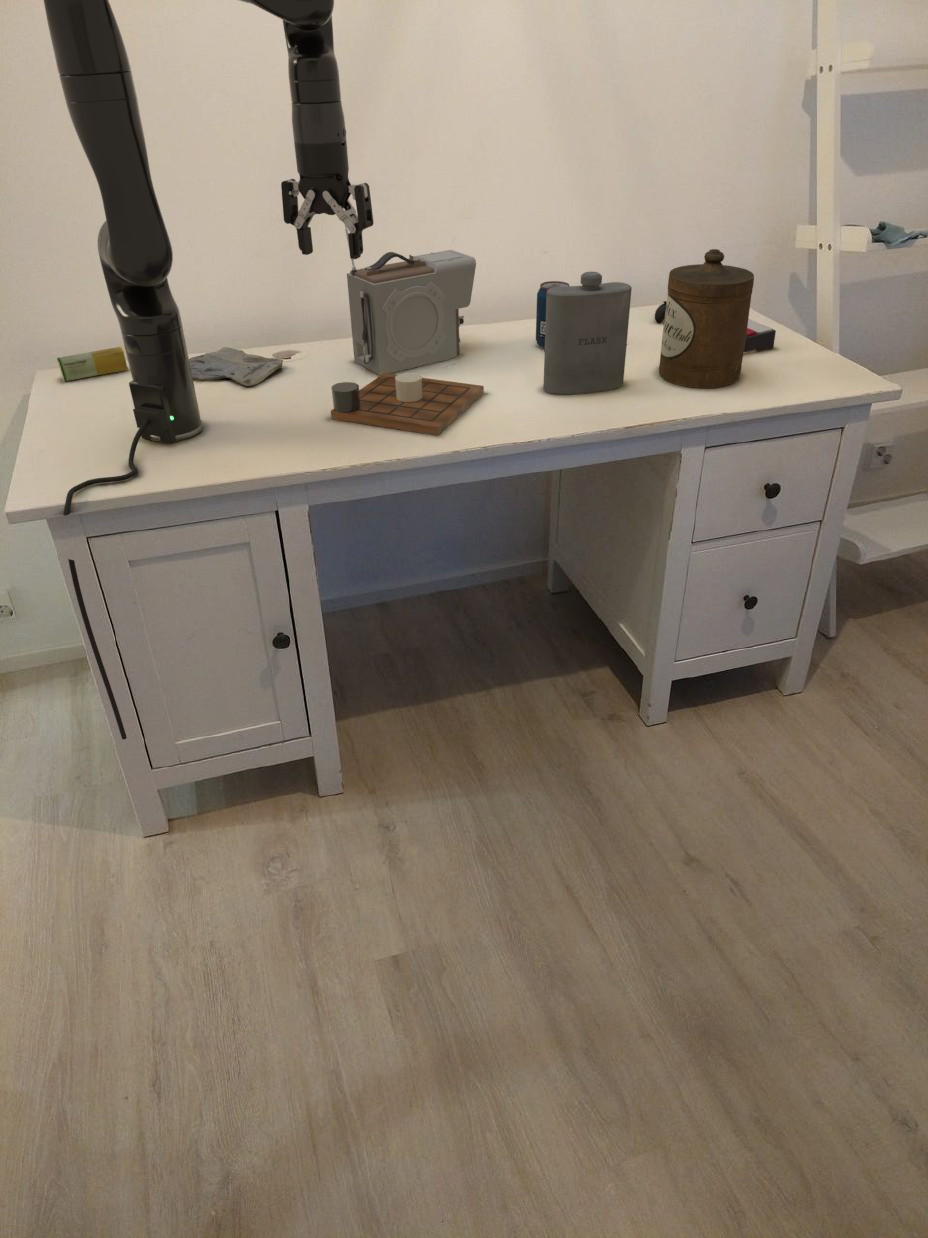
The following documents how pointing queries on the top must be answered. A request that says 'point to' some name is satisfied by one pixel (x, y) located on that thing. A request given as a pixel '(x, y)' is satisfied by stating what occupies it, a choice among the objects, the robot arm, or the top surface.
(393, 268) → the portable television
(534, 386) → the top surface
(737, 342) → the wooden container
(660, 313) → the dark grey oval piece
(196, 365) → the fossil rock
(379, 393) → the board
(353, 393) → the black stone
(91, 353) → the medication box
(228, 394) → the top surface
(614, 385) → the flask
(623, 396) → the top surface
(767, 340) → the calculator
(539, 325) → the soda can
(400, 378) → the ivory stone
